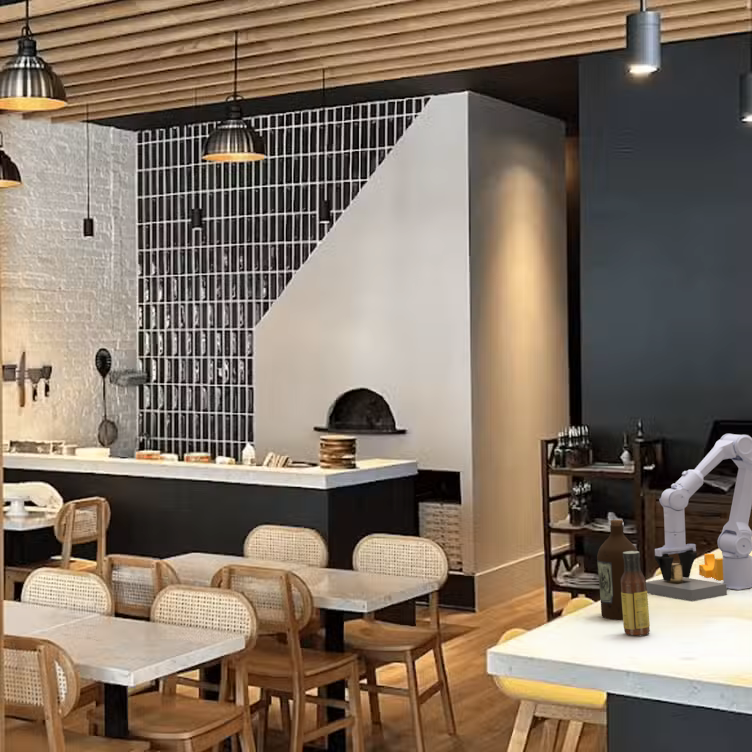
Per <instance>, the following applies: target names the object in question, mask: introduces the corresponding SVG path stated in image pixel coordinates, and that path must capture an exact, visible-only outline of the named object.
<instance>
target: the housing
mask: <svg viewBox="0 0 752 752" xmlns="http://www.w3.org/2000/svg"><path fill="white" fill-rule="evenodd" d="M646 588H647V595H648V594H649V595H654V596H661V597H665V596H666V598H671V597H672V599H677V598H678V600H684V601H690V602H694V601H701V600H705V599H711V598H716V597H721V596H722V597H723V596H726V595H728V592H727V591H728V590H727V589H728V588H727V587H726V584H723V582H718V581H717V582H716V581H709V580H705V579H704V580H703V579H699V578H698V579H696V578H690V577H689V578H685V577H683V583H682V584H672V583H669V581H665V580H663V578H661V579H656V580H655V579H653V580H649V581H646Z"/></svg>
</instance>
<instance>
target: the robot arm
mask: <svg viewBox="0 0 752 752" xmlns="http://www.w3.org/2000/svg"><path fill="white" fill-rule="evenodd" d="M728 459H731V460H732V461H733V463H734V464H735V466H737V468H738V470H737V475H736V481H735V486H734V491H733V496H732V503H731V508H730V513H729V519H728V521H727V522H726V523H725V524H724V525H723V528H722V531H721V533H720V534H719V535H718V538H717V547H718V549H719V550H720V551H721V555H722V558H723V582H722V583H723V584H726V587H727V589H730V590H736V591H740V590H745V589H751V588H752V555H750V554H751V553H752V530H751V528H750V526H749V522H750V521H749V520H750V516H751V512H752V511H751V510H752V437H751V436H750V435H749V434H734V433H725V434H723V435H722V436H721V437H720V439H718V440H717V441H716V442H715V444H714V446H713V447H712V448H711V450H710V451H709V452H708V453H707V454H706V455H705V457H703V458H702V460H701V461H700V462H699V463H698V465H696V467H695V468H694V469H688V470H684V471H682V473H681V477H680V478H679V479H678V480H676V481H675V483H672V484H671V485H670V487H671V488H666V489H665V490H664V491H663V492H662V493H661V496H660V498H659V503H660V505H661V506H662V508H663V519H664V520H663V521H664V523H663V524H664V526H663V527H664V545H662V547H658V548H654V560H655V561H656V564H657V565H658V567H659V570H660V571H661V575H662V579H663V580H665V581H670V580H671V567H672V563H674V562H673V561H674V557H673V556H670V555H674V554H677V555H678V558H679V562H680V564H682V568H683V577H685V578H690V576H691V572H692V567H693V564H694V562H695V559H696V558H697V556H698V555H697V554H698V553H697V548H696V547H697V544H695V543H687V544H686V541H687V540H686V520H685V515H686V514H685V508H686V507H688V505H689V501H690V500H689V499H690V498H692V496H693V495H695V493H696V492H697V491H698V490H699V489H700V488H701V487H702V486H703V484H704V477H706V476H707V475H708V474H709V473H710V472H711V471H712V470H713V469H715V468H716V467H717V466H718V465H719V464H720V463H721V462H722V461H723V460H728Z"/></svg>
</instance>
